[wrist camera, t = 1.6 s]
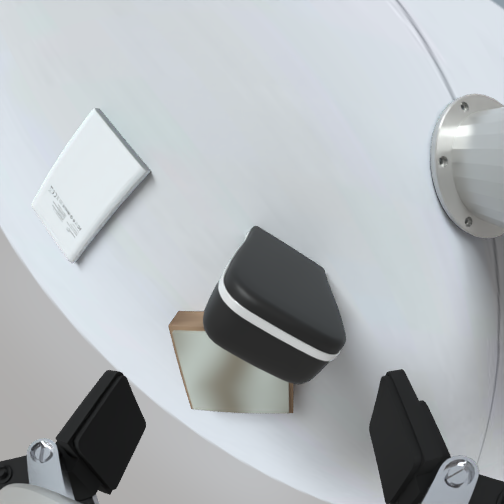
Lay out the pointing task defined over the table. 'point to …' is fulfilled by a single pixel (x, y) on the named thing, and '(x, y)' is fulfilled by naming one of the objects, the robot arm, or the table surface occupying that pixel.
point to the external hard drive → (87, 184)
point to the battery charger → (275, 310)
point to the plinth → (223, 373)
